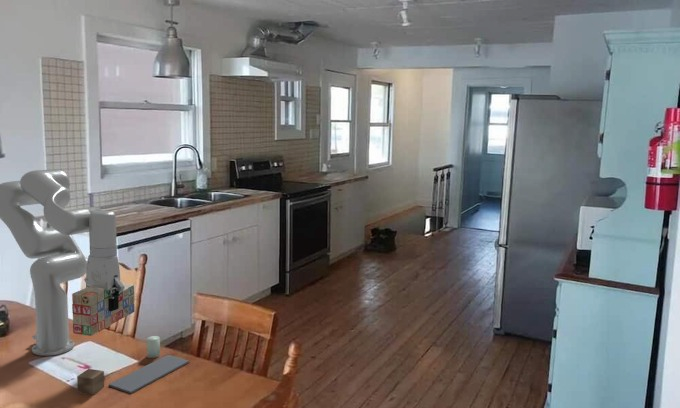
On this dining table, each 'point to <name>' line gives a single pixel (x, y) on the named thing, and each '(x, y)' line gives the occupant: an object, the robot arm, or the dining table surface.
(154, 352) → the mint green capsule
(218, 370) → the dining table surface
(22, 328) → the dining table surface
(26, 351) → the dining table surface
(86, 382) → the walnut cube
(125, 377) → the mat
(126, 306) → the stack of blocks
